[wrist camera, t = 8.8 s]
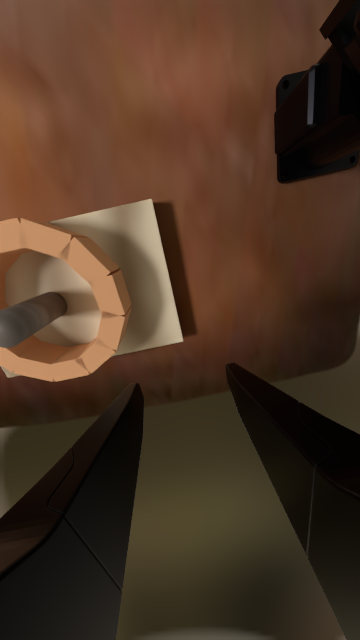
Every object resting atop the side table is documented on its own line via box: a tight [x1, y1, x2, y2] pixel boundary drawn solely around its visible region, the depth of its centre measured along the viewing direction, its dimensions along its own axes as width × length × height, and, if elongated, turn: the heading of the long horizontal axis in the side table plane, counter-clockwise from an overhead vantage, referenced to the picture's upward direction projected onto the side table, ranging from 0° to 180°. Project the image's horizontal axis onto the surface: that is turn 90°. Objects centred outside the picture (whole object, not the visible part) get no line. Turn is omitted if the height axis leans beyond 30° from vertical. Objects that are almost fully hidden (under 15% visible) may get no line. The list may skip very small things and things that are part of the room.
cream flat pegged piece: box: [0, 199, 183, 378], centre depth 16 cm, size 19×13×8 cm
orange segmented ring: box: [0, 218, 132, 382], centre depth 16 cm, size 13×13×3 cm
